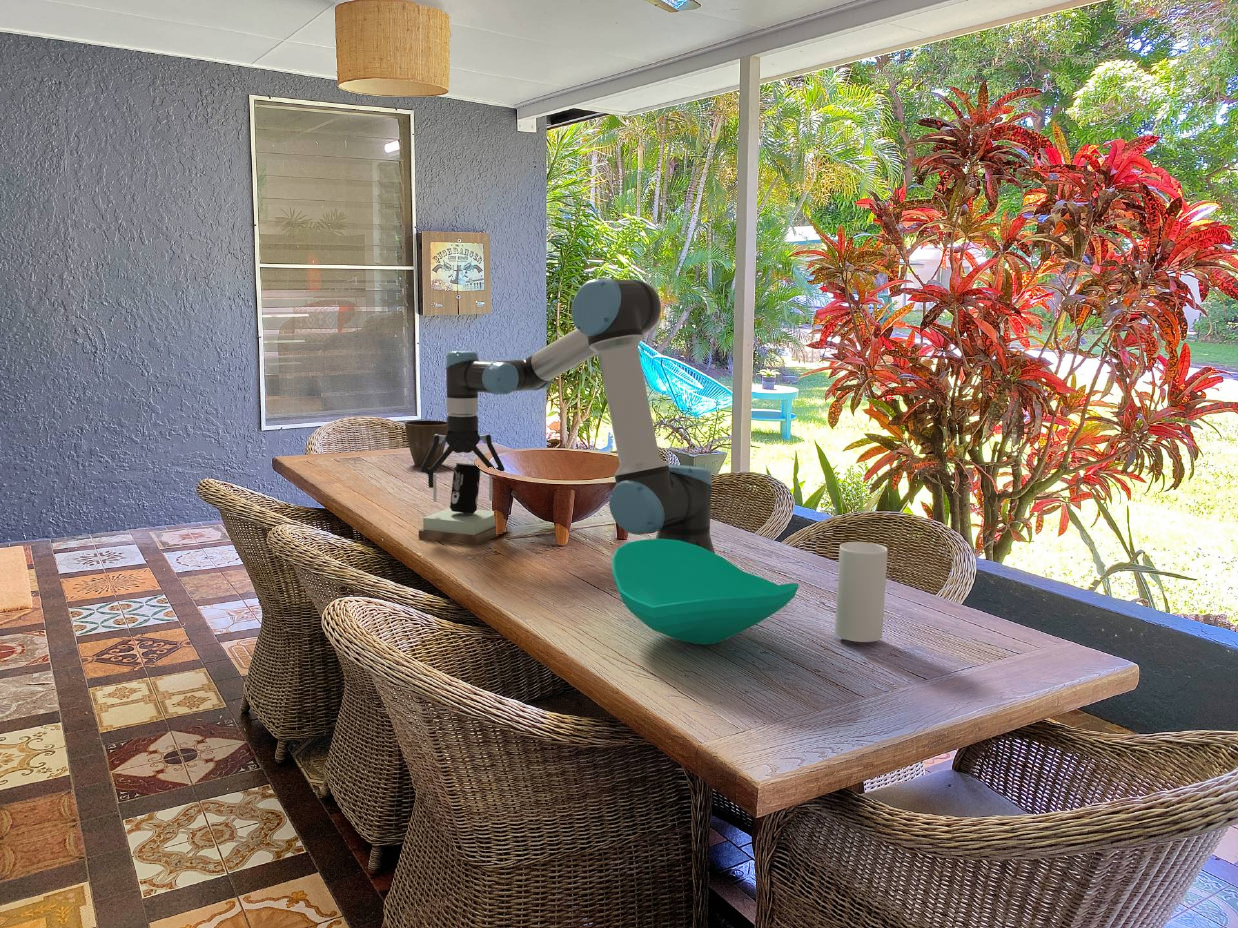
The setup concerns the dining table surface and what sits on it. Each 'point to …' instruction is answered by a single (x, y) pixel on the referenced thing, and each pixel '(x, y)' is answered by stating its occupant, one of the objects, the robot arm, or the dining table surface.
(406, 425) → the plant pot
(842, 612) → the cup
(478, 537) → the tower base
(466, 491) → the beverage can
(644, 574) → the table top decor
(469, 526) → the tower top
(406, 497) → the dining table surface
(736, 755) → the dining table surface
